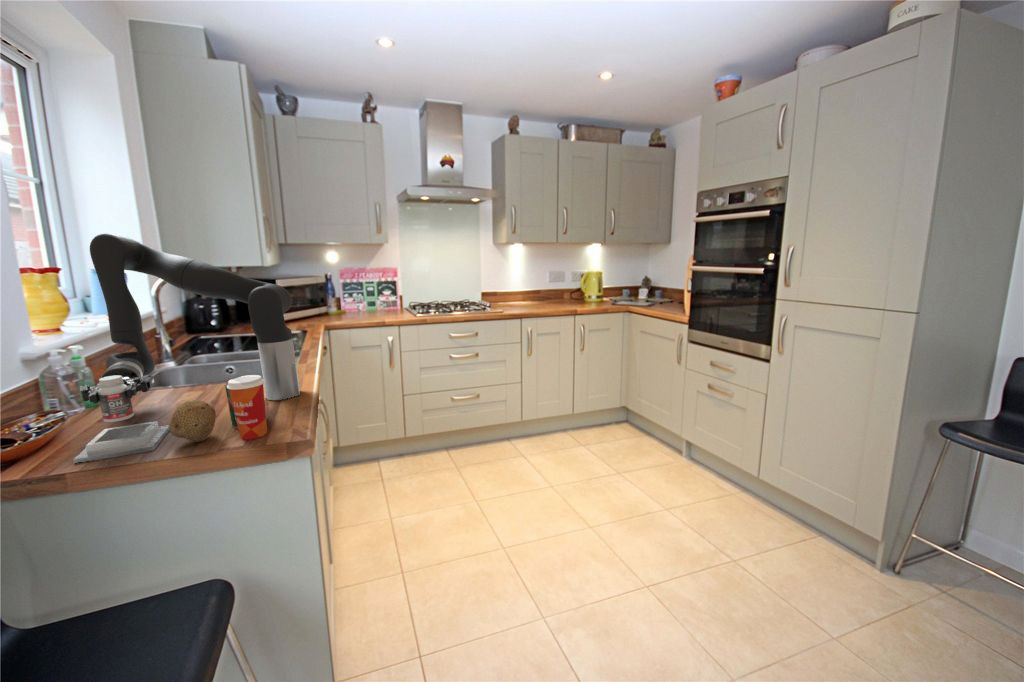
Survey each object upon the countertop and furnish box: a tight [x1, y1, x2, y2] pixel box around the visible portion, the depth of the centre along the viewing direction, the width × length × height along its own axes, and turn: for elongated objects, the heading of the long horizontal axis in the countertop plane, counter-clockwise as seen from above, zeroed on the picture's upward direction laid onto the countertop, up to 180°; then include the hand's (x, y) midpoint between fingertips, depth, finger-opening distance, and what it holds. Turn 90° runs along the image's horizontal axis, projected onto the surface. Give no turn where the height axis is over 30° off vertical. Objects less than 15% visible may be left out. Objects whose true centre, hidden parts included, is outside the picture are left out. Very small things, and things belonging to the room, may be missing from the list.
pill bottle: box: [97, 375, 135, 423], centre depth 105 cm, size 5×5×10 cm
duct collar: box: [72, 420, 170, 464], centre depth 107 cm, size 14×14×3 cm
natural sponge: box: [168, 399, 217, 443], centre depth 106 cm, size 9×9×10 cm
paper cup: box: [227, 374, 268, 441], centre depth 109 cm, size 8×8×14 cm
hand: (112, 396), depth 103 cm, fingers closed on pill bottle, 5 cm apart
